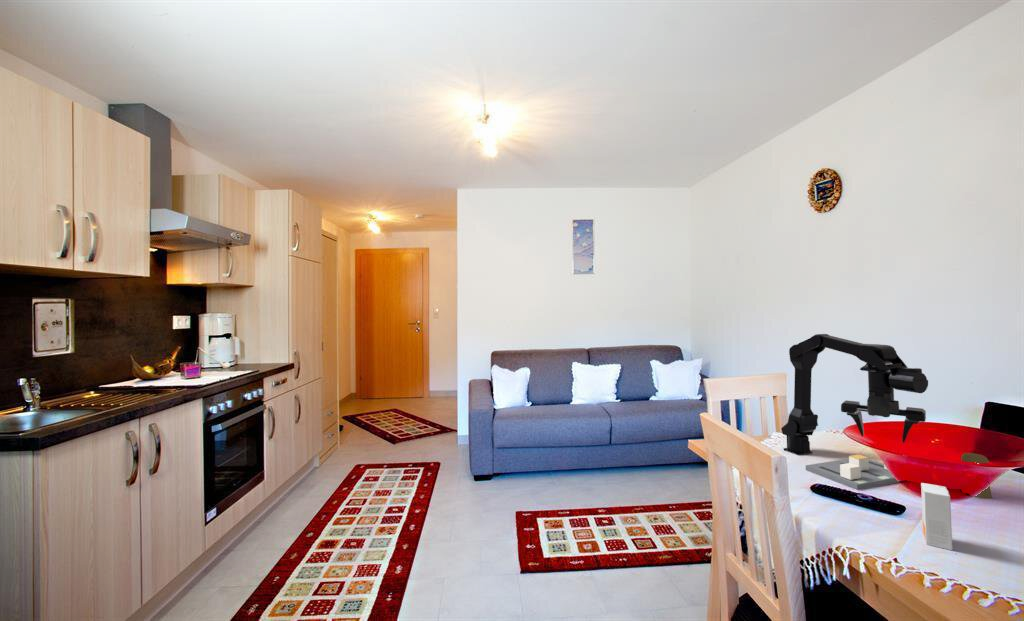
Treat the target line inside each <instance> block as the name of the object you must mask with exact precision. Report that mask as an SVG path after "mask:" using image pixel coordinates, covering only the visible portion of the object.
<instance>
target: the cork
mask: <svg viewBox="0 0 1024 621" xmlns="http://www.w3.org/2000/svg"><path fill="white" fill-rule="evenodd" d="M960 458H961V462H962V461H965V462H976V463H989V464H990V461H989V459H988V458H987V457H986V456H985V455H982V454H978V453H974V452H973V453H972V452H965V453H963V454H962V455H961V457H960ZM974 498H977V499H983V500H984V499H986V500H987V499H988V500H989V499H992V498H993V495H992V490H991V486H989V487H988V488H987V489H985V490H984V491H982V492H981V493H980V494H978V495H977V496H975V497H974Z"/></svg>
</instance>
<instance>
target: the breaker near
mask: <svg viewBox="0 0 1024 621" xmlns="http://www.w3.org/2000/svg"><path fill="white" fill-rule="evenodd" d="M840 476H841V477H844V478H847V479H850V480H853V479H859V478H861V468H860V466H858V465H855V464H852V463H847V464H840Z"/></svg>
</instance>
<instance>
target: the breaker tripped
mask: <svg viewBox="0 0 1024 621" xmlns="http://www.w3.org/2000/svg"><path fill="white" fill-rule="evenodd" d="M848 459H849V463H852V464H855V465H858V466H860V468H861V471H863V470H869V459H870V458H869V457H868V456H864V455H862V454H853V455H848Z"/></svg>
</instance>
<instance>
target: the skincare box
mask: <svg viewBox="0 0 1024 621" xmlns="http://www.w3.org/2000/svg"><path fill="white" fill-rule="evenodd" d="M920 488H921V490H920V491H921V514H922V515H921V516H922V534H923V537H924V540H925V545H927V546H931V547H935V548H939V549H942V550H943V549H944V550H947V551H948V550H949V551H953V534H952V533H953V530H952V510H951V495H950V492H949V490H948V489H947V487H946V486H942V485H937V484H931V483H924V482H921V483H920Z"/></svg>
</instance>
